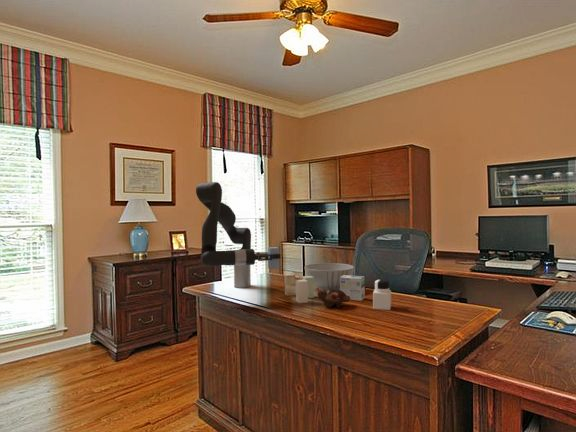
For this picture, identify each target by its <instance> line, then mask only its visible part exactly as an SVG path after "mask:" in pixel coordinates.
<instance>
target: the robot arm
mask: <svg viewBox="0 0 576 432" xmlns="http://www.w3.org/2000/svg"><path fill="white" fill-rule="evenodd" d="M195 192H196V193H195V194H196V197H197V198H198V201H200V203H202V204H203V206H204V207H206V208H207V210H208V211H209V212H208V215H207V216H206V218H205V220H204V222H203V224H202V228H201V251H200V253H201V254H200V263H201V264H202V265H203V266H205V267H217V266H218V267H220V266H233V275H234V276H233V278H234V279H233V280H234V281H233V286H234V288H238V289H240V288H243V289H245V288H249V287H251V282H252V281H251V280H252V279H251V278H252V277H251V265H253V266H254V265H255V263H256V261H258V262H264V261H265V262H266V261H267V262H268V260H272V259H279V260H280V259H281V258H282V257H281V254H280V253H279V254H268V251H267V252H266V251H258V252H255V249H253V248H251V247H252V232H251V229H250V228H248V227H236V226H235V224H236V220H237V217H236V214H235V212H234V211H233V209H232V208H231V207H230V205H228V204H226V203H224V202H222V199H223V188H222V186H221V184H220V183H219V182H218V181H214V182H213V181H212V182H211V181H210V182H202V183H199V184H198V185H196V188H195ZM218 224H219V225H221V227H222V228H223V229H224V230H225V232H226V234H227V236H228V238H229V239H230V241H231V242H232V243H233V244H235V245H241V247H240V248H239V249H235V250H234V249H231V250H217V243H218ZM268 256H270V258H268Z"/></svg>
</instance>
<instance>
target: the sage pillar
mask: <svg viewBox="0 0 576 432" xmlns="http://www.w3.org/2000/svg"><path fill="white" fill-rule="evenodd" d="M304 279H305V280H307V281H308V299H312V298H313V299H314V298H315V285H314V277H312V276H307V275H304V276H302V280H304Z"/></svg>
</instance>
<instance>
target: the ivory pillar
mask: <svg viewBox="0 0 576 432" xmlns="http://www.w3.org/2000/svg"><path fill="white" fill-rule="evenodd" d="M295 282H296V295H295V302H297V303H298V304H306V303H309V298H308V281H307V280H305V279H304V280H303V279H295Z"/></svg>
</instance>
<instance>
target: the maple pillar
mask: <svg viewBox="0 0 576 432" xmlns="http://www.w3.org/2000/svg"><path fill="white" fill-rule="evenodd" d="M284 295H286V296H287V297H288V296H296V274H293V273H289V274H287V273H286V274H284Z"/></svg>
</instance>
